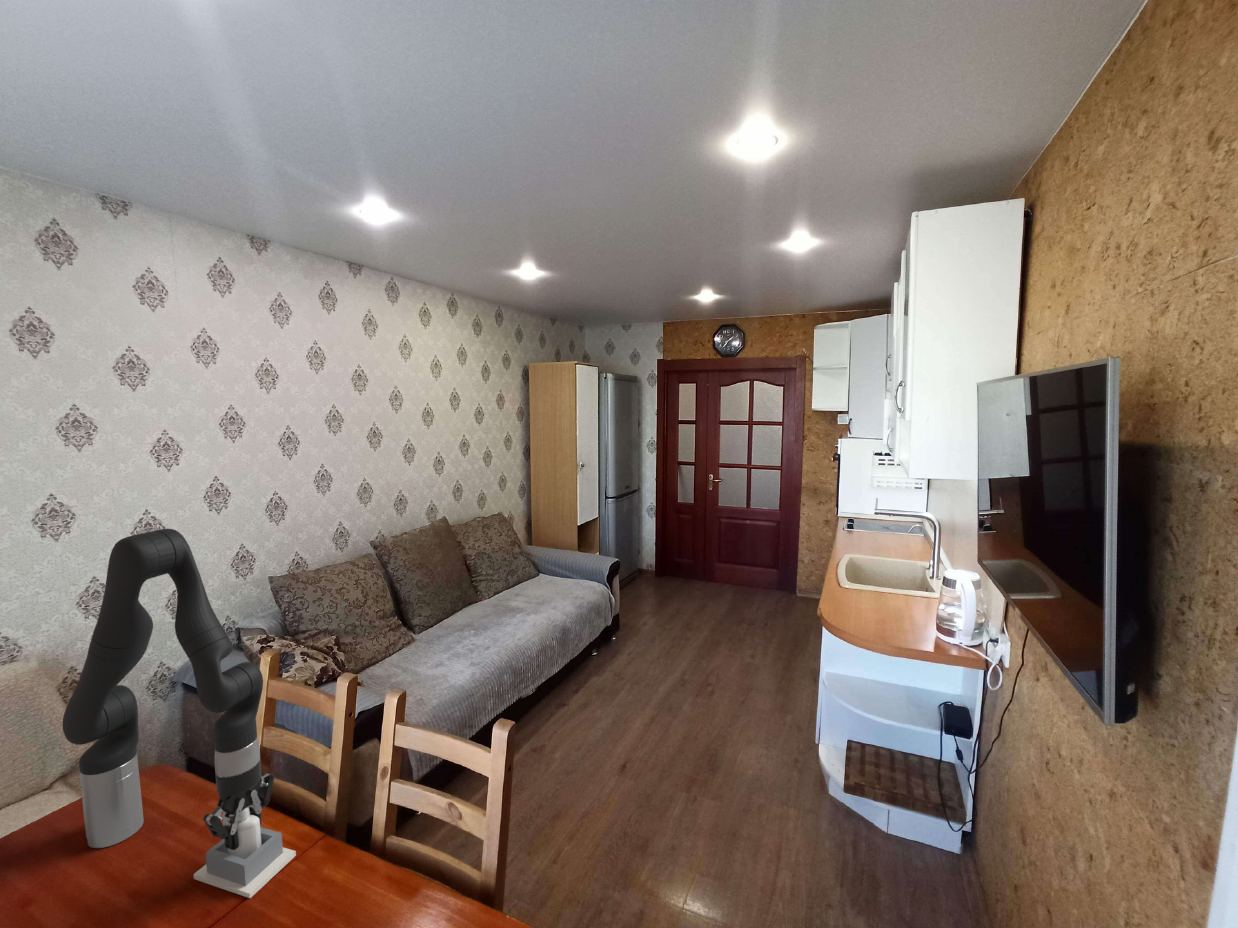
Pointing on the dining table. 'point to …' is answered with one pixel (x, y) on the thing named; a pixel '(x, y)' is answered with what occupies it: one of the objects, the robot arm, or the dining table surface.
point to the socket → (245, 865)
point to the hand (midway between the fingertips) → (243, 838)
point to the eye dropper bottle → (247, 835)
